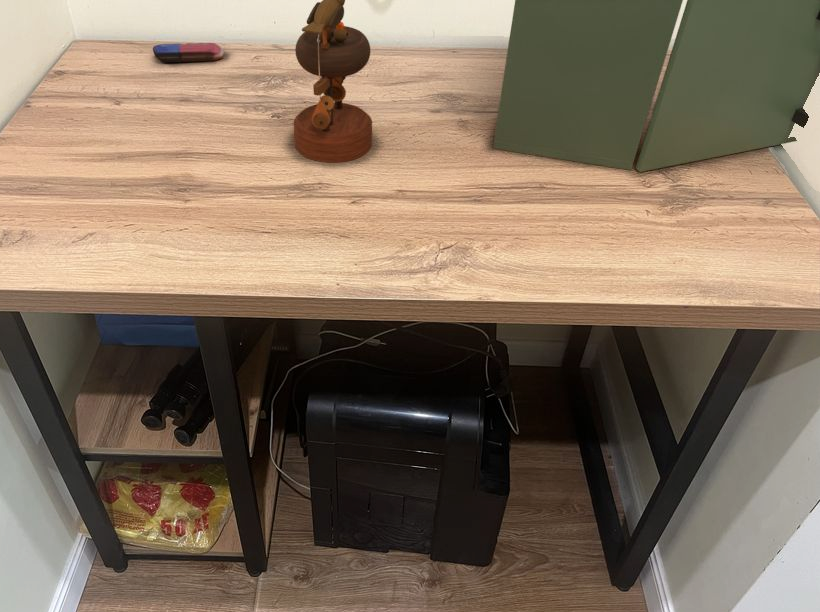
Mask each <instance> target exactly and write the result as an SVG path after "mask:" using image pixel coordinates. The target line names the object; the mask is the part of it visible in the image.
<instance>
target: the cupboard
mask: <svg viewBox="0 0 820 612" xmlns="http://www.w3.org/2000/svg"><path fill="white" fill-rule="evenodd" d="M683 1H684V0H514V6H513V12H512V19H511V25H510V33H509V39H508V46H507V52H506V59H505V64H504V65H505V66H504V71H503V78H502V84H501V85H502V86H501V91H500V99H499V104H498V111H497V118H496V125H495V131H494V138H493V144H492V149H493V150H501V151H507V152H513V153H519V154H525V155H532V156H537V157H545V158H551V159H557V160H562V161H570V162H577V163H581V164H582V163H583V164H588V165H595V166H600V167H606V168H613V169H620V170H626V171H632V169H633V165H634V162H635V159H636V156H637V152H638V149H639V146H640V142H641V139H642V136H643V132H644V129H645V126H646V123H647V119H648V116H649V114H650V110H651V106H652V103H653V100H654V96H655V93H656V91H657V87H658V84H659V80H660V77H661V74H662V71H663V67H664V65H665V60H666V57H667V53H668V51H669V47H670V44H671V40H672V37H673V34H674V31H675V28H676V25H677V21H678V18H679V14H680V11H681V8H682V4H683Z"/></svg>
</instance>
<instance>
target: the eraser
mask: <svg viewBox="0 0 820 612" xmlns="http://www.w3.org/2000/svg"><path fill="white" fill-rule="evenodd" d="M152 52H153V54H154V57H155V58H156V59H157V60H158V61H160V62H161V63H190V62H191V63H193V62H194V63H195V62H215V61H218V60H221V59H223V58H224V57H225V56H224V55H225V54H224V50H223V48H222V47H221V46H220V45H218V44H217V43H215V42H199V43H198V42H197V43H191V42H189V43H162V44H161V43H160V44H156V45H154V46H153V47H152Z"/></svg>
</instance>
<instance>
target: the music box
mask: <svg viewBox="0 0 820 612" xmlns="http://www.w3.org/2000/svg"><path fill="white" fill-rule="evenodd" d="M345 3H346V0H321V1H318V2H316V3H315V4H314V6H313V8H312V9H311V11H310V13H309V15H308V17H307V19H306V24H307V25H305V26H304V27H302V28H301V31H302V34H301V35H299V37H298V39H297V41H296V44H295V49H294V50H295V57H296V60H297V62H298V64H299V66H300V67H301V68H302V69H303V70H304V71H306V72H307V73H309V74H311V75H313V76H317V77H318V79H317V81H316V82H315V83H314V84H312V85H313V87H312V88H313V89H312V90H313V95H314V96H317V97H318V96H319V100H318V103H316V104H312V105H310V106H307V107H305V108H304V109H302V110H301V111H300V112H299V113H298V114H297V115H295V118H294V119H293V137H294V147H295V149H296V151H297V152H298V154H300V155H301V156H303V157H304V158H307V159H309V160H313V161H316V162H321V163H345V162H350V161H353V160H357V159H360V158H361V157H363V156H365V155H366V154H367V153H368V152H369V151H370V150H371V149H372V143H373V120H372V119H373V118H372V117H371V116H370V115H369V114H368V113H367V112H366V111H365V110H364V109H362V108H361V107H359V106H356V105H354V104H350V103H345V102H343V100H344V99H345V98H346V95H347V91H346V90H347V89H346V88H345V86H344V85H343V83H344V81H345V80H346V78H347V77H349V76H353V75H355V74H357V73H359V72H360V71H362V70H363V69H364V68H365V67H366V66H367V64H368V62H369V60H370V57H371V45H370V41H369V38H367V36H366V35H365V34H364V33H363V32H362V30H361V31H360V30H359V29H357V28H355V27H351V26H347V25H345V24H344V23H343V21H342V20H343V19H344V16H345V8H344V6H345Z"/></svg>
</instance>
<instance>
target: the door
mask: <svg viewBox="0 0 820 612" xmlns="http://www.w3.org/2000/svg"><path fill="white" fill-rule="evenodd" d="M819 12H820V0H686V3H685V7H684V9H683V13H682V16H681V20H680V22H679V26H678V29H677V32H676V36H675V38H674V42H673V45H672V49H671V52H670V56H669V59H668V61H667V64H666V68H665V71H664V75H663V77H662V82H661V84H660V88H659V90H658V94H657V98H656V101H655V104H654V106H653V110H652V113H651V116H650V120H649V122H648V126H647V130H646V133H645V136H644V139H643V143H642V146H641V149H640V153H639V155H638V159H637V163H636V165H635V170H637V172H639V173H643V172H647V171H652V170H658V169H663V168H667V167H673V166H677V165H683V164H686V163H687V164H688V163H693V162H698V161H704V160H708V159H713V158H718V157H723V156H729V155H733V154H738V153H744V152H750V151H754V150H759V149H764V148H768V147H769V148H770V147H774V146H779V145H785V144H789V143H795V142H798V141H797V140H796V138H795V137H790V138H788V137H789V135H790V133H791V131H792V129H793V126H794V124H795V123H796V124H798V125H799V126H801V127H803V128H804V126H805V125H806V123H807V121H808V118H809V116H808V114H807V113H806V112H805V110H804V109H803V106H804V104H805V102H806V100H807V98H808V96H809V94H810V92H811V89H812V87H813V86H814V84H815V81H816V79H817V77H818V76H819V73H820V20H818V19H816V18H817V16H818V14H819Z"/></svg>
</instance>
